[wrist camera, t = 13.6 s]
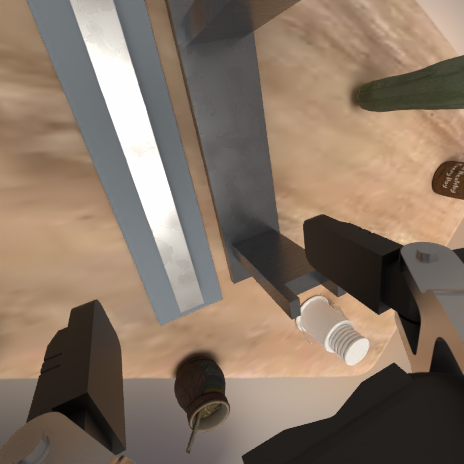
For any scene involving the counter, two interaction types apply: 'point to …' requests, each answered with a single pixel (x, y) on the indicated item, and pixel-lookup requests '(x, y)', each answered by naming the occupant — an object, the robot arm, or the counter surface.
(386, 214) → the counter surface
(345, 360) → the downlight
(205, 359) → the mate gourd
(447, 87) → the vegetable
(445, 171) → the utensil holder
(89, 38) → the steel rail
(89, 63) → the blue-gray flat board
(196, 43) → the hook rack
